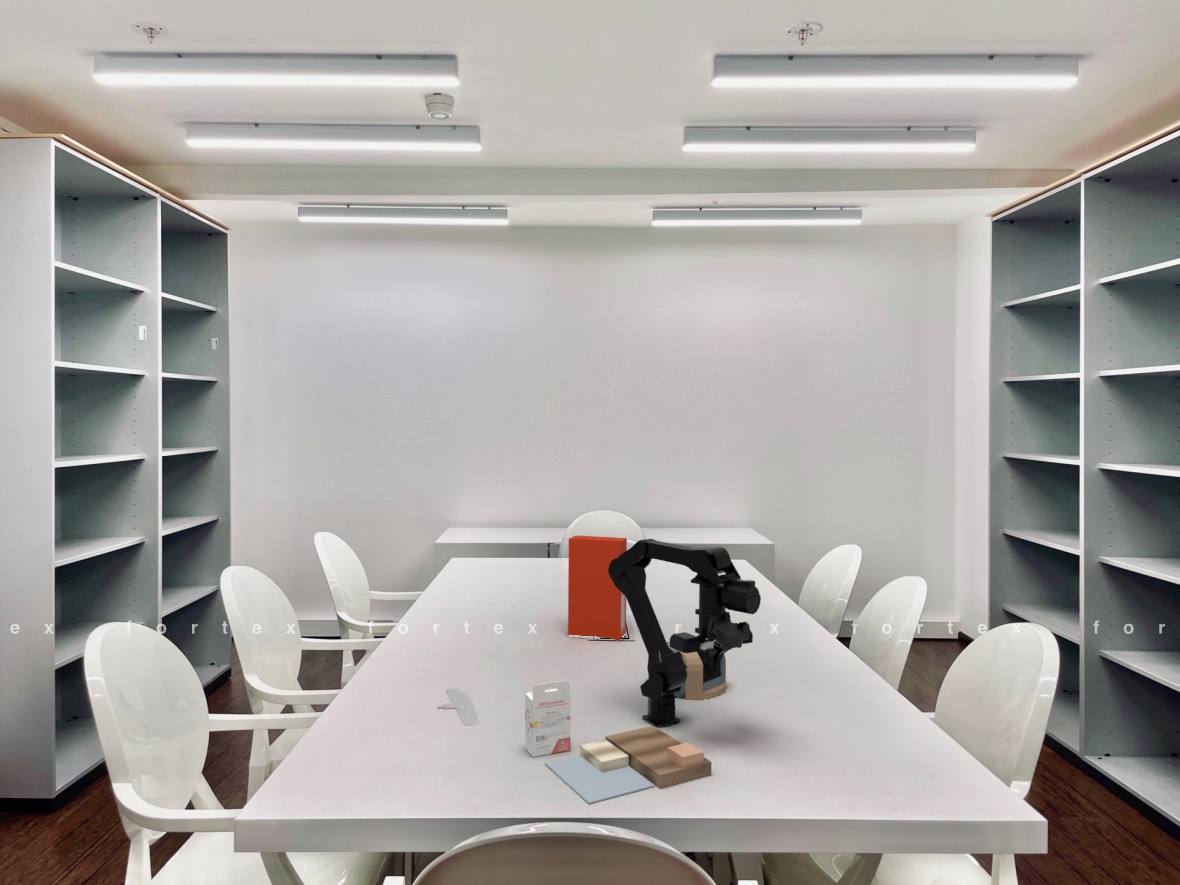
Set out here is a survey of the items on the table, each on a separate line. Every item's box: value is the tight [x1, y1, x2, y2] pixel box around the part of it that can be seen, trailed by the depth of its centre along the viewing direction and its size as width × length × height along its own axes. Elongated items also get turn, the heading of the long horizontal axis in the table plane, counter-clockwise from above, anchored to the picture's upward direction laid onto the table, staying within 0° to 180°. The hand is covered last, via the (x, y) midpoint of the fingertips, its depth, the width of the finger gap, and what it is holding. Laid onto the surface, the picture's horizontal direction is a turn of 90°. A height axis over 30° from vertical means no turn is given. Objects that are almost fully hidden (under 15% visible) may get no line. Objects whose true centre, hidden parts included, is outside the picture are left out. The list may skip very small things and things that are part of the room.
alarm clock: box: [647, 641, 727, 701], centre depth 194 cm, size 19×20×12 cm
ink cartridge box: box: [524, 679, 571, 758], centre depth 154 cm, size 9×5×15 cm, turn 114°
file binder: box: [567, 535, 628, 640], centre depth 241 cm, size 8×17×32 cm, turn 73°
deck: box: [604, 725, 712, 789], centre depth 150 cm, size 20×12×2 cm, turn 29°
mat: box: [544, 754, 656, 805], centre depth 143 cm, size 18×14×1 cm
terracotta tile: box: [667, 742, 705, 768], centre depth 144 cm, size 5×5×2 cm
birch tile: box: [579, 738, 629, 772], centre depth 149 cm, size 9×6×2 cm, turn 29°
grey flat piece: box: [437, 687, 481, 726], centre depth 181 cm, size 25×24×1 cm
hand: (711, 677), depth 161 cm, fingers closed
